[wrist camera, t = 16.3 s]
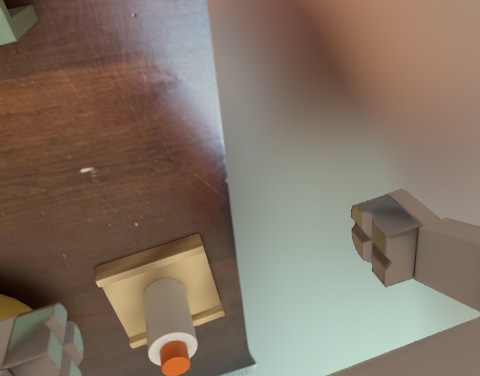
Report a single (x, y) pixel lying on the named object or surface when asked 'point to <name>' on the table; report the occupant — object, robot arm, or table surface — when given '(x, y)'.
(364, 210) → the robot arm
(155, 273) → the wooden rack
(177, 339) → the white bottle
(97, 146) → the table surface
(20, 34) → the sage green cube
